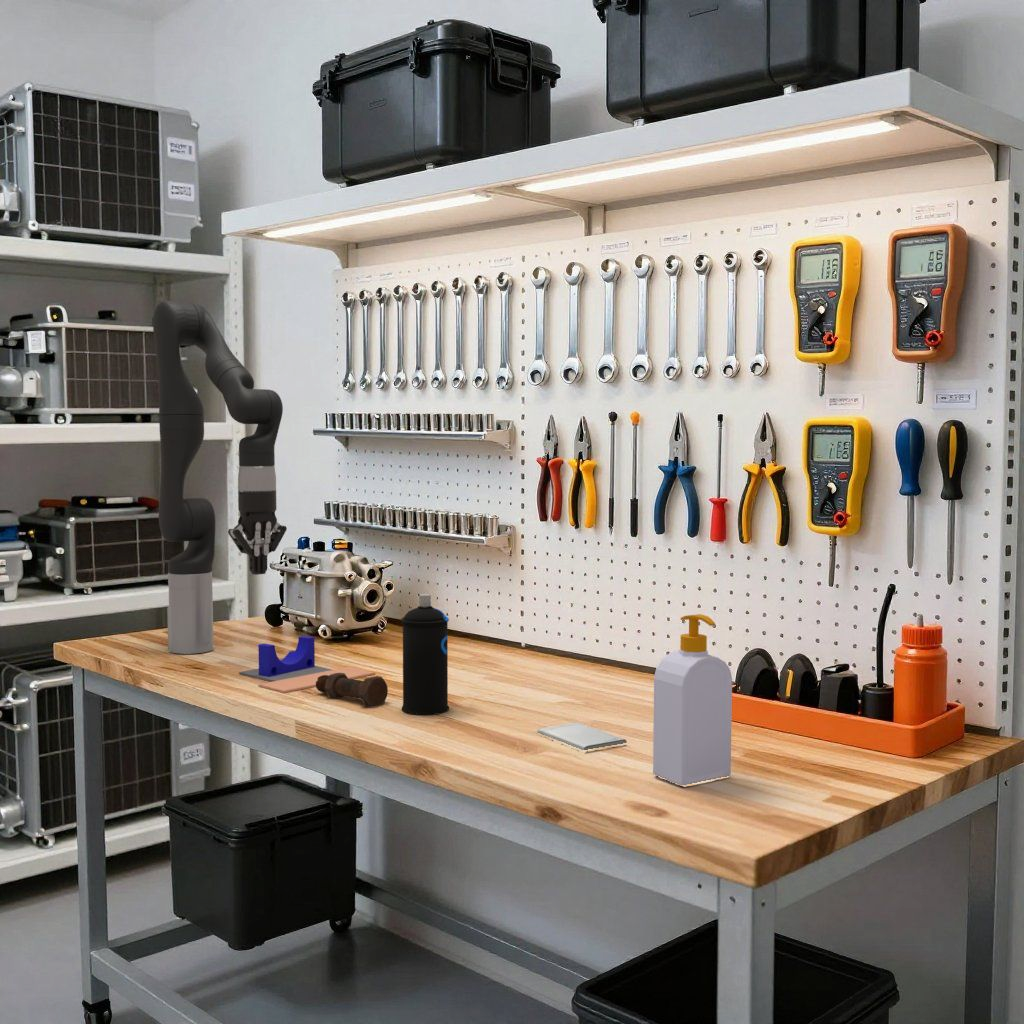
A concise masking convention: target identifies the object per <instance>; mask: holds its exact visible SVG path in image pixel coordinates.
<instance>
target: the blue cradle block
mask: <svg viewBox="0 0 1024 1024" xmlns="http://www.w3.org/2000/svg"><path fill="white" fill-rule="evenodd" d="M257 646H258V647H257V648H258V650H257V651H258V668H259V675H262V676H267V677H271V676H276V675H280V674H285V673H289V672H294V671H298V670H302V669H307V668H311V667H315V666H316V665H315V664H316V663H315V662H316V660H315V657H316V656H315V655H316V654H315V653H316V652H315V647H316V646H315V637H313V636H307V635H302V636H298V641H297V645H296V649H295V650H290V651H288V653H287V654H286V656H284V657H283V658H282V659H280V658H279V657H278V654H277V652H276V645H275V644H270V643H260V644H258V645H257Z"/></svg>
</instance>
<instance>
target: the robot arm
mask: <svg viewBox="0 0 1024 1024" xmlns="http://www.w3.org/2000/svg"><path fill="white" fill-rule="evenodd" d="M152 328H153V329H152V331H153V340H154V348H155V357H156V365H157V374H158V375H157V376H158V378H157V379H158V404H159V407H158V420H159V423H158V424H159V441H160V444H159V445H160V482H159V483H160V484H159V485H160V486H159V487H160V488H159V499H158V500H159V502H158V525H159V529H160V533H161V536H162V537H163V539H165V541H166V542H169V543H177V542H187V543H188V544H187V547H185V549H184V550H183V551H181V552H180V553H178V554H177V555H175V556H173V557H171V558H170V559H169V561H168V563H167V573H168V575H167V576H168V578H167V579H168V580H167V581H168V606H167V608H166V609H167V615H166V616H167V649H168V650H169V652H170V653H174V654H183V655H191V654H201V653H207V652H212V651H213V650H214V607H213V606H214V605H213V603H214V601H213V600H214V597H213V593H214V592H213V563H214V558H215V554H216V553H215V552H216V551H215V550H216V549H215V547H216V546H215V544H216V514H215V508H214V506H213V504H212V503H211V502H210V500H209V499H207V498H203V497H191V498H189V497H187V498H184V487H185V486H184V485H185V479H186V475H187V474H188V470H189V469H190V466H191V464H192V462H193V461H194V459H195V457H196V456H197V454H198V452H199V450H200V449H201V446H202V445H203V442H204V437H205V415H204V414H205V411H204V407H203V406H204V405H203V403H202V400H201V398H200V397H199V395H198V393H197V391H196V389H195V388H194V386H193V385H192V383H191V381H190V380H189V378H188V377H187V375H186V373H185V370H184V367H183V364H182V359H181V352H180V346H188V347H192V346H193V347H194V346H195V347H197V348H199V349H200V350H201V351H202V352H203V353H205V359H204V360H205V362H204V363H205V364H204V366H205V368H204V369H205V372H206V374H207V376H208V378H209V380H210V381H211V383H212V384H213V385H214V386H215V387H216V389H217V391H219V392H220V393H221V395H222V397H223V400H224V402H225V405H226V407H227V410H228V413H229V415H230V417H231V419H233V420H234V421H235V422H237V423H238V424H242V425H256V428H255V431H254V433H253V434H251V435H248V436H244V437H242V438H240V440H239V442H238V465H239V466H238V475H237V495H238V496H237V497H238V498H237V500H238V501H237V502H238V503H237V504H238V505H237V507H238V509H237V510H238V513H239V518H238V520H237V525H235V526H234V527H233V528H229V529H228V531H227V533H228V536H229V537H230V538H231V541H232V542H233V543H234V544H235V545H236V547H237V549H238V551H239V552H240V553H241V554H246V555H247V556H248V559H249V561H248V563H249V572H251V573H250V574H251V575H255V576H258V575H266V573H267V571H268V555H269V554H270V553H273V552H275V551H277V548H278V547H279V545H280V543H281V541H282V539H283V537H284V535H285V533H286V532H287V526H286V525H281V524H280V523H279V522H278V519H277V516H276V511H277V475H276V474H277V473H276V466H275V464H276V463H275V462H276V461H275V456H276V455H275V445H276V441H277V438H278V433H279V429H280V426H281V421H282V419H283V418H282V417H283V412H284V410H283V409H284V408H283V402H282V399H281V397H280V395H279V394H278V392H277V391H274V390H272V389H266V388H265V389H262V388H255V380H254V378H253V376H252V374H251V373H250V372H249V370H248V369H247V368H246V367H245V366H244V365H243V364H242V362H240V361H239V360H238V358H237V357H236V356H235V354H234V353H233V352H232V350H231V349H230V346H228V344H227V342H226V341H225V339H224V336H223V335H222V333H221V330H219V328H218V326H217V325H216V322H215V321H214V319H213V317H212V316H211V314H210V313H209V311H208V310H207V309H206V308H205V307H204V306H203V305H201V304H199V303H196V302H186V301H185V302H184V301H177V300H175V301H174V300H161V301H160V302H158V304H157V305H156V307H155V309H154V312H153V317H152ZM244 535H245V536H244Z"/></svg>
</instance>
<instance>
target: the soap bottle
mask: <svg viewBox="0 0 1024 1024" xmlns="http://www.w3.org/2000/svg"><path fill="white" fill-rule="evenodd" d="M687 620H688V633H683V634H680V646H679V647H680V648H679V649H677V650H673V651H671V652H669V653H667V654H666V656H664V657H663V658H662V659H661V660H660V662H659V663H658V665H657V667H656V669H655V673H654V677H653V732H652V733H653V739H652V740H653V741H652V742H653V744H652V745H653V746H652V747H653V749H652V753H653V754H652V773H653V775H654V774H655V775H657V776H660V777H662V778H665V779H667V780H669V781H671V782H674V783H677V784H679V785H687V784H692V783H697V782H701V781H706V780H711V779H716V778H721V777H727V776H731V773H732V771H731V770H732V723H733V722H732V721H733V720H732V716H733V715H732V713H733V712H732V710H733V709H732V708H733V706H732V705H733V698H732V697H733V677H732V671H731V669H730V667H729V665H728V664H727V663H726V661H724V660H723V659H721V658H720V657H717V656H714V655H711V654H709V651H708V650H707V645H708V644H707V642H708V639H707V638H708V636H707V635H706V634H703V633H702V634H701V633H699V631H700V630H699V622H700V621H702V622H704V623H705V624H707V625H708V626H710V627H711V626H715V625H716V622H715V621H714V620H713V619H712V618H711V617H710V616H707V615H704V614H700V613H698V614H688V615H684V616H681V617H680V621H687ZM671 782H670V783H671Z"/></svg>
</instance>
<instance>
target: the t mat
mask: <svg viewBox="0 0 1024 1024" xmlns="http://www.w3.org/2000/svg"><path fill="white" fill-rule="evenodd" d="M334 673H345V675H346V676H347V677H348V679H354V680H356V679H358V678H364V677H370V676H374V675H375V676H376V672H374V671H370V670H365V669H361V668H357V667H352V666H347V667H341V668H335V669H333V668H332V669H331V668H326V667H322V666H317V665H315V667H311V668H307V669H302V670H298V671H294V672H289V673H285V674H280V675H276V676H271V677H267V676H262V675H259V667H258V668H254V669H253V668H252V669H248V670H243V671H239V672H238V674H239V675H242V676H246V677H250V678H254V679H258V680H262V681H267V682H263V683H259V684H258V687H259V688H263V689H267V690H271V691H275V692H278V693H283V694H287V693H291V692H296V691H302V690H306V689H310V688H316V681H318V679H317V678H318V677H320V676H323V675H328V676H329V675H331V674H334Z"/></svg>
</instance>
